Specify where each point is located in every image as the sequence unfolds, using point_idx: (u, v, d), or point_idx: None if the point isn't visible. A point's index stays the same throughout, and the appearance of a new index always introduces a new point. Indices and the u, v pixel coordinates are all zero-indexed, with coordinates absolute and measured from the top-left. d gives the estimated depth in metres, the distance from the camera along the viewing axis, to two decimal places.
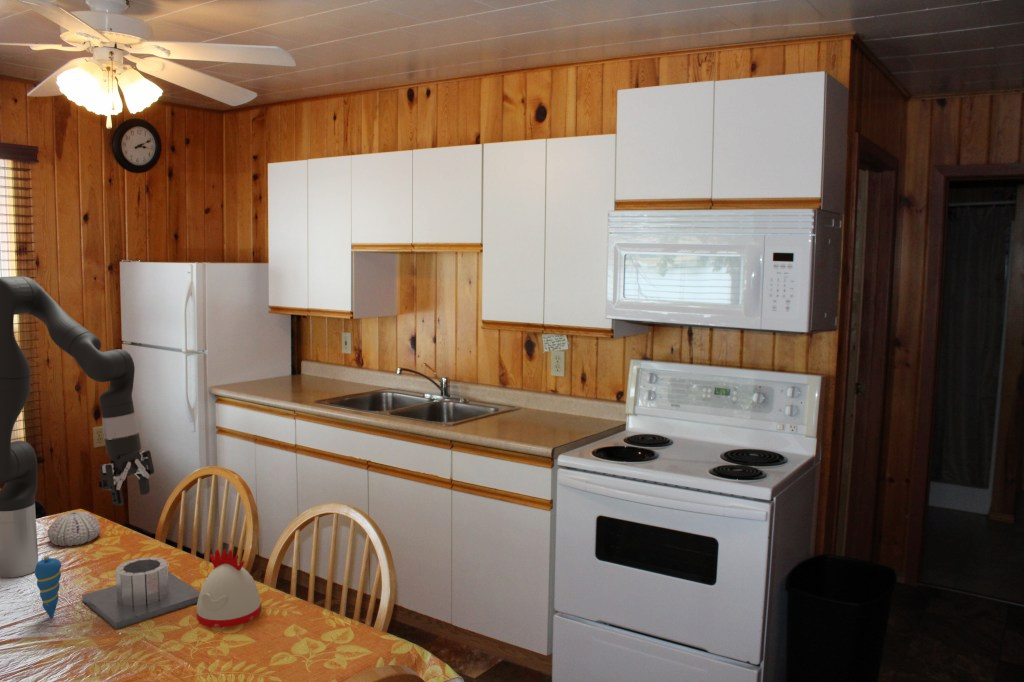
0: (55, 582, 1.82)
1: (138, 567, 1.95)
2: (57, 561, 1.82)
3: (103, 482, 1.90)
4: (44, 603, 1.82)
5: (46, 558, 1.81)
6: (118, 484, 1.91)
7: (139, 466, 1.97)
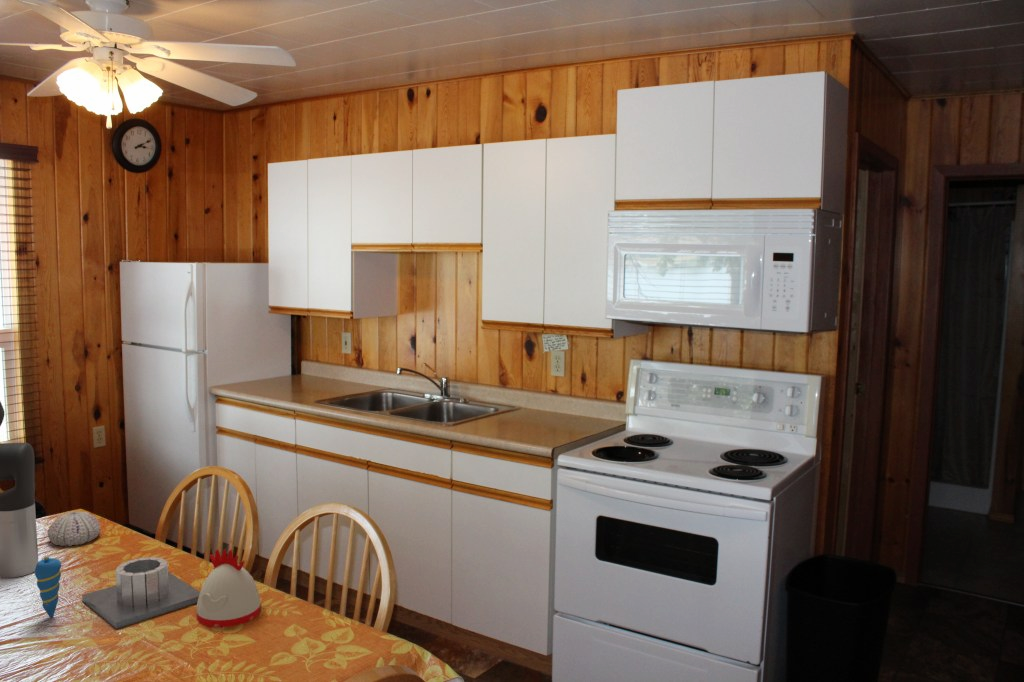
0: (55, 582, 1.82)
1: (138, 567, 1.95)
2: (57, 561, 1.82)
3: None
4: (44, 603, 1.82)
5: (46, 558, 1.81)
6: None
7: None
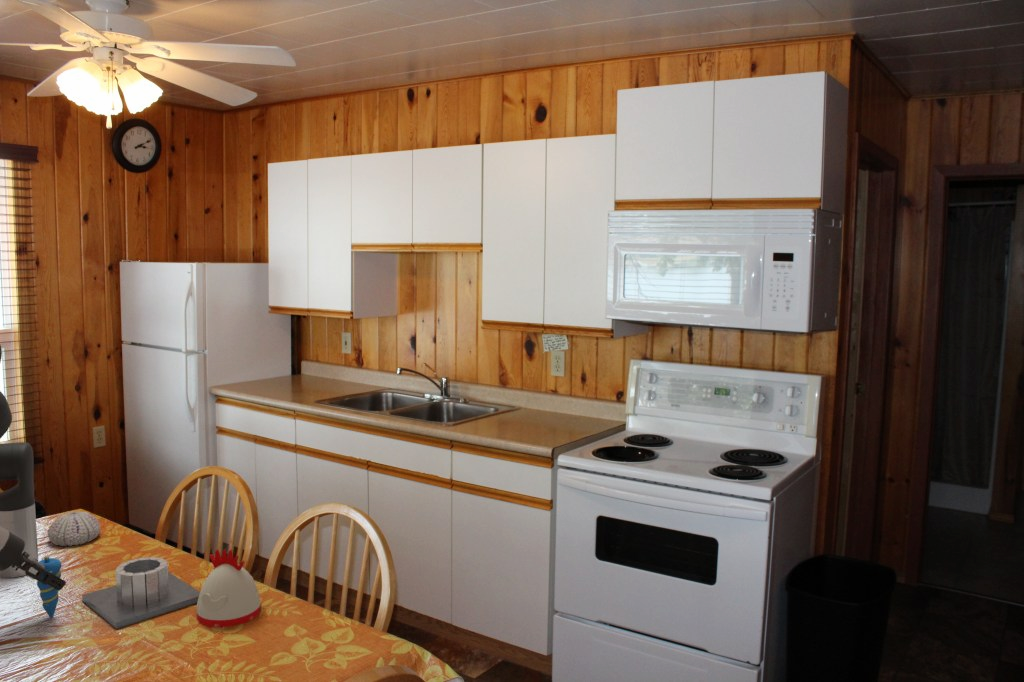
0: None
1: (138, 567, 1.95)
2: (57, 561, 1.82)
3: None
4: (44, 603, 1.82)
5: (46, 558, 1.81)
6: None
7: (24, 574, 1.77)
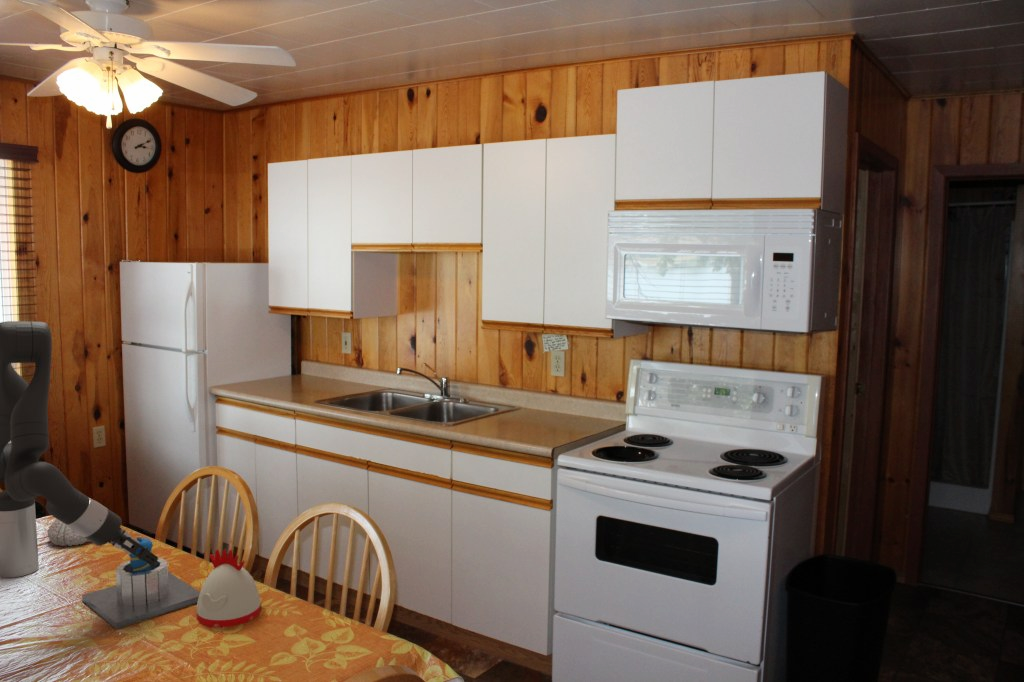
0: None
1: None
2: (149, 541, 1.91)
3: None
4: None
5: (139, 538, 1.90)
6: None
7: (121, 549, 1.85)
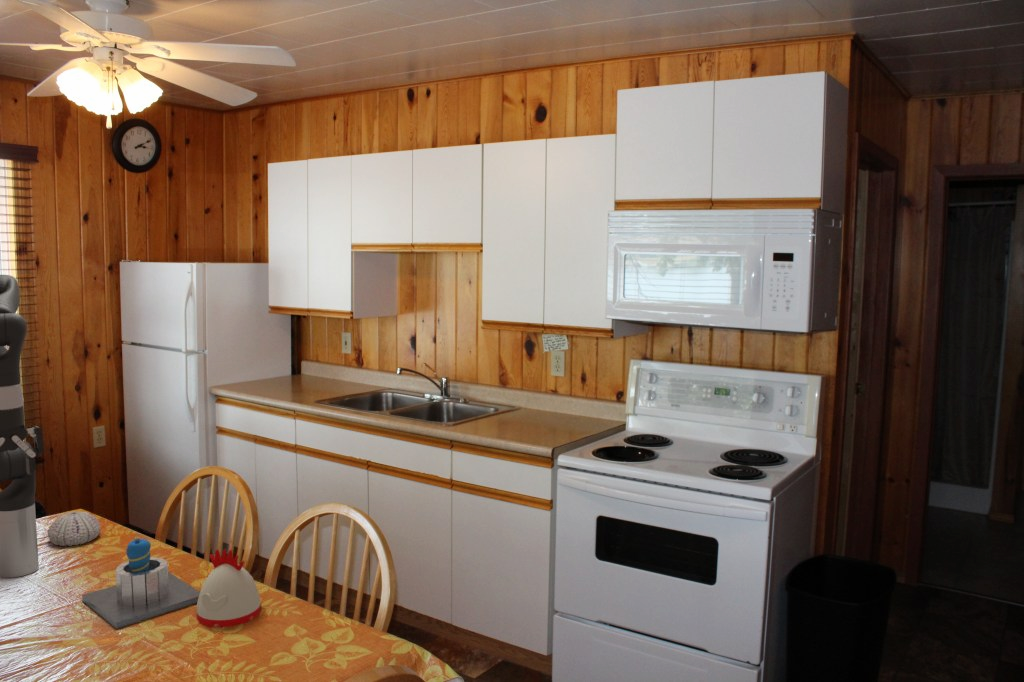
0: (146, 561, 1.90)
1: None
2: (147, 541, 1.90)
3: None
4: None
5: (137, 539, 1.89)
6: None
7: (19, 443, 1.80)
